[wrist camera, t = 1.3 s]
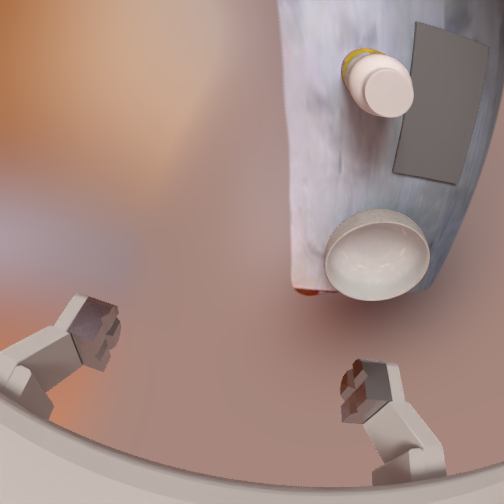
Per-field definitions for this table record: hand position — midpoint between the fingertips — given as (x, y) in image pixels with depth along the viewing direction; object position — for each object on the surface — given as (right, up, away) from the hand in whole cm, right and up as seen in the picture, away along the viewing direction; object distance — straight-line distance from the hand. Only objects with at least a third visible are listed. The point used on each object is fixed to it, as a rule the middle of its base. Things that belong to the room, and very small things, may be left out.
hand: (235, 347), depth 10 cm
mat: (+26, +22, +23) cm, 41 cm away
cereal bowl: (+21, +6, +40) cm, 45 cm away
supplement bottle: (+15, +25, +22) cm, 37 cm away
